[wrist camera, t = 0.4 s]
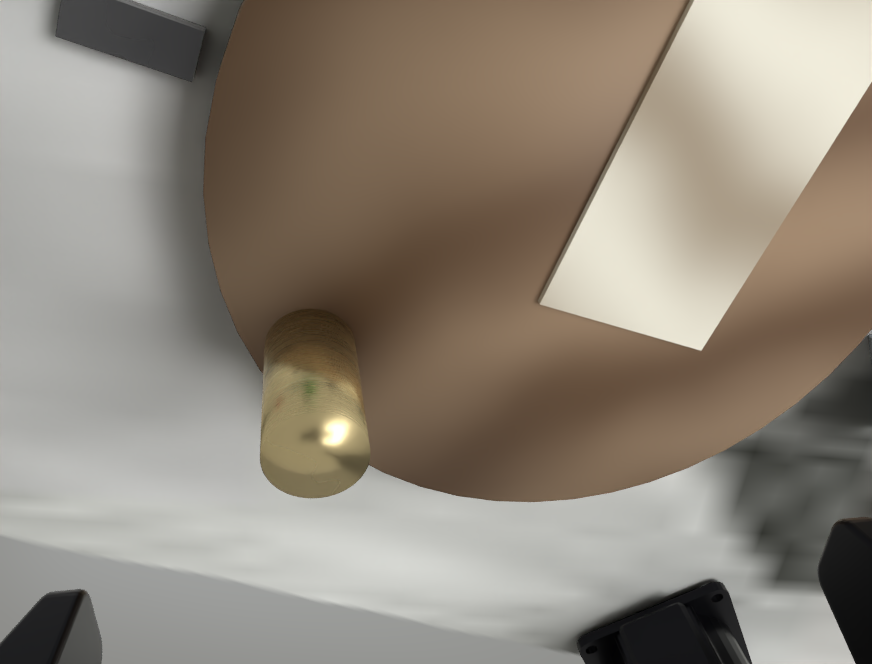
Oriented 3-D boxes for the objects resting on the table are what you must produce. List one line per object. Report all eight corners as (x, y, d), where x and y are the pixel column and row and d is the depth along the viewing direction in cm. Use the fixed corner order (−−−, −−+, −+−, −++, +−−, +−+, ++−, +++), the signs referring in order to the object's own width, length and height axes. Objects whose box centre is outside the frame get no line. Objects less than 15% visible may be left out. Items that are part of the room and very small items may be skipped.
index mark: (205, 27, 19) (204, 31, 18) (193, 76, 19) (191, 81, 19) (69, -22, 18) (64, -19, 17) (60, 31, 18) (55, 35, 18)
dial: (943, 313, 27) (1107, 430, 21) (403, 546, 28) (431, 708, 23) (899, -449, 16) (1206, -594, 11) (33, -4, 18) (-77, 63, 12)
